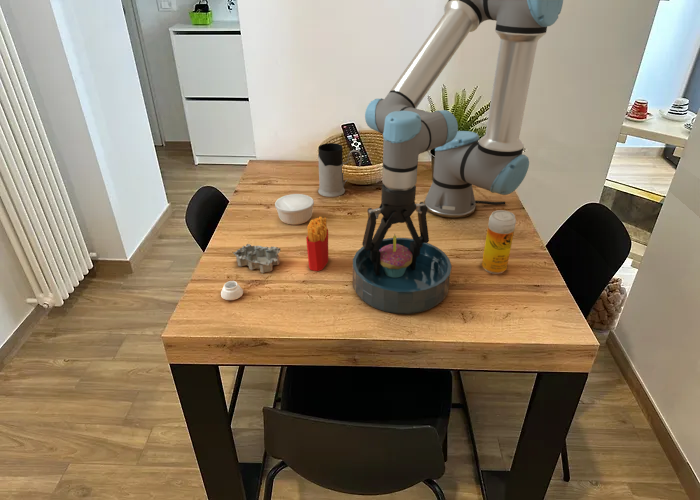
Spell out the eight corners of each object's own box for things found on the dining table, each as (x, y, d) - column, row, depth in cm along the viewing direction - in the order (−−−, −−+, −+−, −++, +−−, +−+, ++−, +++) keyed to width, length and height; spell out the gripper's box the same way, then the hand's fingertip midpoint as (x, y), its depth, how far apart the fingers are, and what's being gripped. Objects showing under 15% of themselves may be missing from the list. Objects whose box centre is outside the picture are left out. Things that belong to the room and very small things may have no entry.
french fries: (319, 274, 123) (318, 231, 116) (305, 271, 124) (302, 229, 117) (332, 256, 129) (330, 215, 123) (317, 253, 130) (316, 213, 124)
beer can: (492, 277, 121) (502, 223, 113) (476, 265, 126) (484, 212, 118) (511, 271, 123) (522, 217, 115) (494, 259, 128) (504, 207, 120)
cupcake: (409, 284, 117) (412, 240, 111) (373, 280, 119) (375, 236, 113) (412, 264, 125) (416, 222, 118) (379, 260, 126) (380, 219, 120)
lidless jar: (217, 293, 116) (226, 304, 112) (216, 283, 114) (225, 293, 111) (237, 286, 118) (247, 296, 115) (236, 275, 117) (245, 286, 113)
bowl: (427, 254, 130) (429, 232, 127) (464, 306, 111) (468, 282, 108) (343, 266, 125) (342, 244, 122) (367, 322, 107) (367, 298, 103)
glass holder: (317, 185, 167) (316, 142, 159) (360, 184, 168) (360, 141, 160) (318, 197, 159) (316, 152, 151) (362, 195, 160) (363, 151, 152)
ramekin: (269, 222, 145) (267, 206, 142) (287, 206, 154) (286, 191, 151) (303, 229, 141) (302, 213, 139) (320, 212, 150) (319, 197, 147)
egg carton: (283, 261, 128) (282, 248, 125) (266, 276, 122) (264, 262, 120) (250, 250, 132) (249, 237, 130) (232, 264, 126) (230, 251, 124)
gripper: (437, 172, 115) (429, 255, 127) (348, 182, 110) (348, 267, 122) (450, 186, 108) (440, 272, 120) (356, 196, 104) (356, 284, 116)
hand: (394, 269), depth 121 cm, fingers closed on cupcake, 8 cm apart
